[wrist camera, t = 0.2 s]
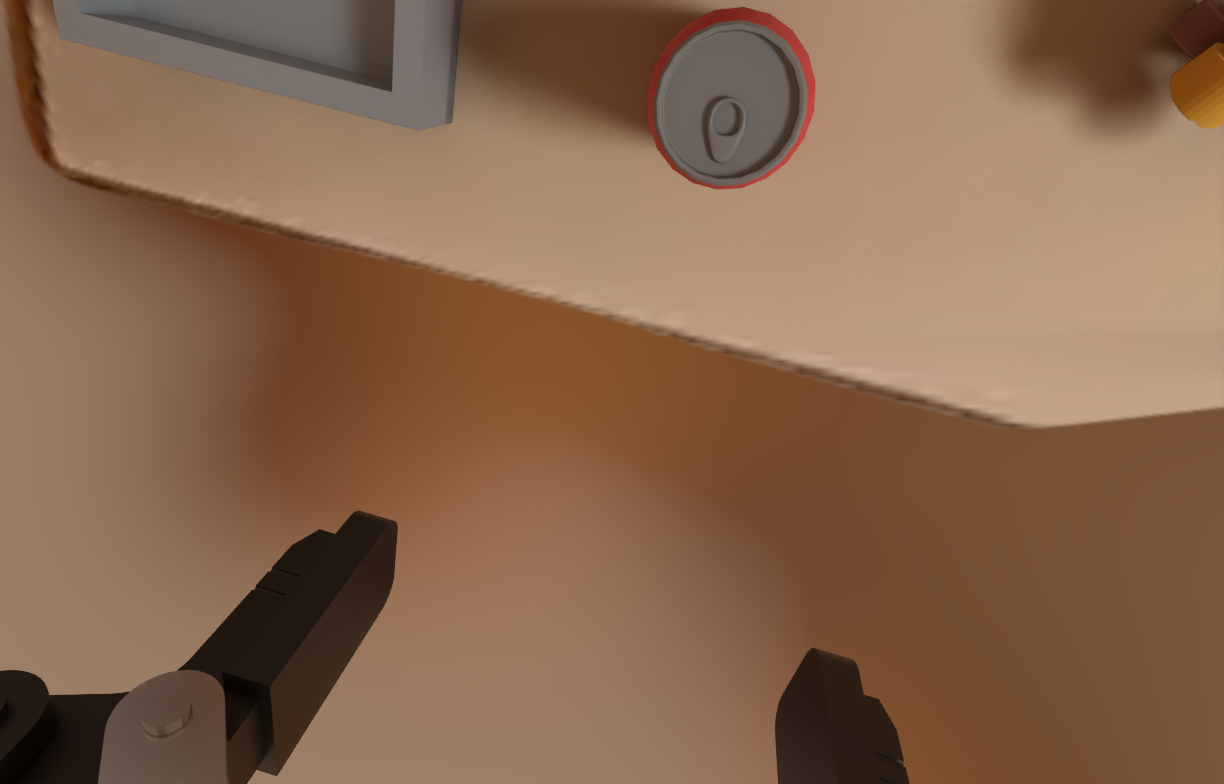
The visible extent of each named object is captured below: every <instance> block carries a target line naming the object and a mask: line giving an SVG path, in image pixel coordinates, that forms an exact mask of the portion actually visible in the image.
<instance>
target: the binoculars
mask: <svg viewBox="0 0 1224 784" xmlns="http://www.w3.org/2000/svg"><path fill="white" fill-rule="evenodd" d="M1168 30H1169V33H1170V35H1171V37H1172V38H1173V40H1174V41H1175V42H1176V43H1177V45H1178V46H1179V47H1180V48H1181V49H1182V50H1183V51H1184V52H1185V53H1187V54H1188V55H1189V56H1190V57H1191V58H1193V60H1192V61H1190V62H1189V63H1187V64H1186V65H1184V66H1183V67H1182V68H1180V69H1179V70H1177V71H1176V72H1175V73H1174V74H1173V76H1172V78H1171V81H1170V92H1171V95H1172V99H1173V101H1174V103H1175V105H1176V106H1177V108H1178V109H1179V111H1180V112H1181V113H1182V114H1183V115H1184V116H1185V117H1186V118H1187V119H1188V120H1189V121H1191V122H1192V123H1194V124H1196V125H1198V126H1200V127H1203V128H1216V127H1218V126H1220V125H1221V124H1223V123H1224V0H1203V1H1202V2H1200V3H1199V4H1198V5H1196V6H1195V7H1194V8H1192V9H1191V10H1189V11H1188V12H1187V13H1185V14H1184V15H1183V16H1181V17H1180V18H1179V19H1177V20H1176V21H1175V22H1173V23H1172V24H1171V25H1169V27H1168Z"/></svg>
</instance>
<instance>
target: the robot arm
mask: <svg viewBox="0 0 1224 784" xmlns="http://www.w3.org/2000/svg"><path fill="white" fill-rule="evenodd" d="M397 531H398V526H397V523H396V522H395V521H392V520H389V519H386V518H382V517H379V516H376V515H372V514H369V513H365V512H362V511H356V512H354V513H353V514H352V515H351V516H350V517H349V518H348V519H347V521H346V522H345V523H344V524H343V525H342V527H341V528H340V529H339V530H338V531H337V533H336V534H333V533H330V532H327V531H324V530H320V529H319V530H318V531H316V532H314V533H312V534H311V535H309V536H307V537H305V538H304V539H302V540H300V541H299V542H297V543H295V544H293V545H292V546H291V547H290V548H289V549H288V550H287V551H286V552H285V554H284V555H283V556H282V557H281V558H280V559H279V560H278V561H277V563H276V564H275V565H274V566H273V567H272V570H271V571H270V572H268V573H267V574H266V575H265V576H264V577H263V578H262V579H261V580H260V582H259V583H258V584H257V585H256V588H255V590H251V592H250V593H249V594H248V595H247V596H246V597H245V598H244V599H243V600H242V602H241V603H240V604H239V605H238V606H237V607H236V608H235V609H234V611H233V612H232V613H231V614H230V615H229V616H228V617H227V619H225V621H224V622H223V623H222V624H221V625H220V626H219V627H218V629H217V630H216V631H215V632H214V633H213V634H212V635H211V636H210V637H209V638H208V640H207V641H206V642H205V643H204V644H203V645H202V646H201V647H200V649H199V650H198V651H197V652H196V653H195V654H194V655H193V657H191V659H190V660H188V662H186V663H185V664H184V665H183V666H182V667H181V668H179V669H178V670H177V671H173V672H168V673H165V674H161V675H159V676H156V677H154V678H152V679H149V680H147V681H146V682H144V683H142V684H140V685H139V686H137V687H136V688H134V689H133V690H132V691H130V692H124V693H115V694H80V695H49V692H48V690H47V687H46V685H45V683H44V682H43V681H42V679H41V678H39V677H38V676H36V675H35V674H32V673H29V672H25V671H19V670H5V671H0V784H247V783H248V781H249V780H250V778H251V777H252V775H253V774H254V772H255V771H256V770H259V771H262V772H266V773H269V774H272V775H275V776H277V775H278V774H279V772H280V770H281V769H282V767H283V766H284V764H285V763H286V761H287V759H288V758H289V756H290V755H291V753H292V752H293V750H294V748H295V747H296V745H297V744H298V742H299V740H300V739H301V737H302V736H303V734H304V732H305V731H306V729H307V728H308V726H309V724H310V723H311V721H312V720H313V718H314V716H315V715H316V714H317V712H318V710H319V709H320V707H321V705H322V704H323V702H324V701H325V699H326V698H327V696H328V694H329V693H330V691H331V689H332V688H333V687H334V685H335V683H336V682H337V680H338V679H339V677H340V675H341V674H342V672H343V671H344V669H345V667H346V666H347V664H348V663H349V661H350V660H351V658H352V656H353V655H354V653H355V652H356V650H357V649H358V647H359V645H360V644H361V642H362V641H363V639H364V637H365V636H366V634H367V633H368V631H369V630H370V628H371V626H372V625H373V623H374V622H375V620H376V618H377V617H378V615H379V614H380V612H381V610H382V609H383V607H384V605H385V603H386V601H387V599H388V596H389V594H390V591H391V588H392V584H393V580H394V571H395V557H396V543H397ZM775 739H776V755H777V773H778V784H909V780H908V776H907V772H906V768H905V767H903V762H904V759H903V755H902V751H901V746H900V742H899V738H898V734H897V730H896V728H895V726H894V725H893V723H892V721H891V719H890V718H889V716H888V714H887V713H886V711H885V709H884V708H883V706H882V704H881V703H880V701H879V699H876V698H873V697H870V696H866V695H864V694H863V689H862V684H861V679H860V674H859V670H858V666H857V664H856V662H855V661H854V660H852V659H849V658H846V657H842V656H839V655H836V654H832V653H829V652H826V651H822V650H819V649H816V648H811V649H810V650H809V651H808V652H807V654H806V655H805V657H804V659H803V660H802V662H801V664H800V665H799V667H798V669H797V671H796V672H795V674H794V676H793V677H792V679H791V681H790V683H789V684H788V686H787V688H786V689H785V691H784V693H783V695H782V696H781V699H780V702H779V705H778V709H777V713H776V721H775Z"/></svg>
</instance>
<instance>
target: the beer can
mask: <svg viewBox="0 0 1224 784" xmlns="http://www.w3.org/2000/svg"><path fill="white" fill-rule="evenodd" d="M814 98H815V79H814V75H813V71H812V67H811V63H810V59H809V55H808V53H807V52H806V50H805V49H804V47H803V45H802V44H801V42H800V41H799V39H798V38H797V36H796V35H795V33H794V32H793V30H791V29H790V28H788V27H787V26H786V25H784V24H783V23H782V22H780V21H779V20H778V19H776V18H775V17H773V16H772V15H771V14H768V13H764V12H760V11H756V10H753V9H749V8H745V7H739V8H730V9H720V10H714V11H712V12H710V13H708V14H706V15H704V16H702V17H700V18H698V19H696V20H693V21H691V22H689V23H688V24H687V25H686V26H685V27H684V28H683V29H682V30H681V31H680V32H679V33H678V34H677V35H676V36H675V37H674V38H672V39H671V40H670V41H669V42H668V44H667V45H666V47H665V49H664V51H663V52H662V54H661V56H660V58H659V60H658V61H657V63H656V65H655V67H654V68H653V73H652V77H651V81H650V85H649V89H648V94H647V109H648V125H649V127H650V130H651V133H652V136H653V139H654V141H655V144H656V147H657V149H658V151H659V152H660V153H661V154H662V156H663V157H664V158H665V160H666V161H667V162H668V164H669V165H670V166H671V168H672V169H673V170H675V171H676V172H678V173H679V174H681V175H682V176H684V177H685V178H687V179H688V180H689V181H691V182H692V183H695V184H699V185H703V186H706V187H710V188H713V189H732V188H743V187H745V186H748V185H750V184H753V183H756V182H758V181H761V180H764V179H766V178H767V177H769V176H770V175H771V174H772V173H774V172H775V171H776V170H778V169H779V168H780V167H781V166H783V165H784V164H785V163H787V162H788V160H789V159H790V157H791V156H792V155H793V153H794V152H795V151H796V149H797V148H798V146H799V145H800V144H801V142H802V141H803V140H804V137H805V134H806V132H807V129H808V126H809V123H810V121H811V118H812V115H813V112H814Z"/></svg>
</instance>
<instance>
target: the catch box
mask: <svg viewBox="0 0 1224 784" xmlns="http://www.w3.org/2000/svg"><path fill="white" fill-rule="evenodd" d="M52 1H53V7H54V12H55V17H56V22H57V27H58V32H59V37H60V39H63V40H67V41H71V42H75V43H79V44H82V45H86V46H90V47H94V48H98V49H102V50H106V51H110V52H114V53H118V54H121V55H125V56H129V57H133V58H137V59H141V60H145V61H149V62H153V63H157V64H161V65H164V66H168V67H172V68H176V69H180V70H184V71H188V72H192V73H196V74H200V75H203V76H207V77H211V78H215V79H219V80H223V81H227V82H231V83H235V84H239V85H243V86H246V87H250V88H254V89H258V90H262V91H266V92H270V93H274V94H278V95H282V96H285V97H289V98H293V99H297V100H301V101H305V102H309V103H313V104H317V105H321V106H325V107H328V108H332V109H336V110H340V111H344V112H348V113H352V114H356V115H360V116H364V117H367V118H371V119H375V120H379V121H383V122H387V123H391V124H395V125H399V126H403V127H407V128H410V129H414V130H418V131H419V130H423V129H427V128H431V127H435V126H440V125H444V124H448V123H452V116H453V103H454V91H455V78H456V66H457V53H458V40H459V28H460V15H461V3H462V0H52Z"/></svg>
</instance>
